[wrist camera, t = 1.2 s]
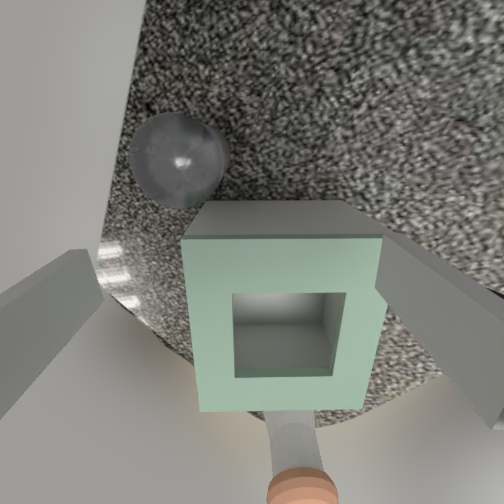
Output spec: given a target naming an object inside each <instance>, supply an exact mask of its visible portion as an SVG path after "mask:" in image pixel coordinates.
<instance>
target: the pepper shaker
mask: <svg viewBox="0 0 504 504" xmlns="http://www.w3.org/2000/svg"><path fill="white" fill-rule="evenodd" d="M263 412H264V417H265V421H266V425H267V430H268V434H269V439H270V449H271V459H272V472H273V479H272V481H271V482H270V484H269V488H268V493H267V504H338V492H337V489H336V487H335V485H334V483H333V481H332V480H331V478H330V477H329V476H328V475H327V474H326V473H325V472H324V469H323V465H322V460H321V456H320V452H319V447H318V443H317V439H316V432H315V420H314V410H281V411H263Z"/></svg>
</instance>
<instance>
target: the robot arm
mask: <svg viewBox="0 0 504 504" xmlns="http://www.w3.org/2000/svg"><path fill="white" fill-rule="evenodd" d="M375 289H376V290H377V291H378V293H379V294H380V295H381V296H382V297H383V299H384V300H385V301H386V302H387V304H388V305H389V306H390V307H391V308H392V310H393V311H394V312H395V313H396V315H397V316H398V317H399V318H400V319H401V321H402V322H403V323H404V324H405V326H406V327H407V328H408V329H409V330H410V332H411V333H412V334H413V335H414V337H415V338H416V339H417V340H418V341H419V343H420V344H421V345H422V346H423V347H424V349H425V350H426V351H427V352H428V354H429V355H430V356H431V357H432V358H433V360H434V361H435V362H436V363H437V365H438V366H439V367H440V368H441V369H442V371H443V372H444V373H445V374H446V376H447V377H448V378H449V379H450V380H451V382H452V383H453V384H454V385H455V386H456V388H457V389H458V390H459V391H460V393H461V394H462V395H463V396H464V397H465V398H466V400H467V401H468V402H469V404H470V405H471V406H472V407H473V408H474V410H475V411H476V412H477V413H478V415H479V416H480V417H481V418H482V419H483V421H484V422H485V423H486V424H487V425H488V427H489V428H490V429H491V430H504V295H503V294H501V293H498V292H496V291H493V290H491V289H489V288H486V287H484V286H482V285H481V284H479V283H477V282H476V281H474V280H473V279H471V278H470V277H468V276H467V275H465V274H463V273H462V272H460V271H459V270H457V269H456V268H454V267H453V266H451V265H450V264H448V263H446V262H445V261H443V260H442V259H440V258H439V257H437V256H436V255H434V254H433V253H431V252H429V251H428V250H426V249H425V248H423V247H422V246H420V245H419V244H417V243H416V242H414V241H412V240H411V239H409V238H408V237H406V236H405V235H403V234H402V233H394V234H383V240H382V246H381V252H380V258H379V264H378V270H377V276H376V282H375ZM103 302H104V298H103V295H102V292H101V289H100V286H99V283H98V280H97V277H96V274H95V271H94V268H93V266H92V262H91V260H90V257H89V254H88V251H87V249H76V250H69V251H67V252H66V253H64V254H62V255H61V256H59V257H58V258H56V259H55V260H53V261H52V262H50V263H49V264H47V265H45V266H44V267H42V268H41V269H39V270H37V271H36V272H34V273H33V274H31V275H30V276H28V277H26V278H25V279H23V280H22V281H20V282H19V283H17V284H16V285H14V286H13V287H11V288H9V289H8V290H6V291H5V292H3V293H2V294H0V419H1V418H2V417H3V416H4V415H5V414H6V413H7V411H8V410H9V409H10V408H11V407H12V405H14V403H15V402H16V401H17V400H18V399H19V398H20V397H21V395H22V394H23V393H24V392H25V391H26V390H27V388H28V387H29V386H30V385H31V384H32V383H33V382H34V381H35V379H36V378H37V377H38V376H39V375H40V374H41V373H42V371H43V370H44V369H45V368H46V367H47V365H49V363H50V362H51V361H52V360H53V359H54V358H55V356H56V355H57V354H58V353H59V352H60V351H61V350H62V349H63V347H64V346H65V345H66V344H67V343H68V342H69V341H70V339H71V338H72V337H73V336H74V335H75V334H76V332H77V331H78V330H79V329H80V328H81V327H82V326H83V324H84V323H85V322H86V321H87V320H88V319H89V318H90V316H91V315H92V314H93V313H94V312H95V311H96V310H97V309H98V307H99V306H100V305H101V304H102V303H103Z"/></svg>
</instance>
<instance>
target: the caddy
mask: <svg viewBox="0 0 504 504" xmlns="http://www.w3.org/2000/svg"><path fill="white" fill-rule="evenodd" d="M394 233H395V232H393V231H391V230H390V229H388V228H386V227H385V226H383V225H382V224H380V223H378V222H377V221H375V220H374V219H372V218H370V217H369V216H367V215H365V214H364V213H362V212H361V211H359V210H357V209H356V208H354V207H352V206H351V205H349V204H348V203H346V202H344V201H343V200H283V201H206V202H205V203H204V205H203V206H202V208H201V209H200V211H199V212H198V214H197V215H196V217H195V218H194V220H193V221H192V223H191V224H190V226H189V227H188V229H187V230H186V232H185V233H184V235H183V236H182V238H181V239H180V241H181V250H182V259H183V268H184V276H185V285H186V294H187V303H188V311H189V320H190V329H191V338H192V346H193V355H194V364H195V372H196V382H197V390H198V399H199V407H200V412H222V411H223V412H224V411H225V412H226V411H281V410H336V409H362V407H363V403H364V399H365V395H366V391H367V387H368V382H369V378H370V374H371V370H372V366H373V362H374V358H375V354H376V350H377V346H378V342H379V338H380V334H381V330H382V325H383V321H384V317H385V313H386V309H387V305H388V304H387V302H386V301H385V300H384V299H383V297H382V296H381V295H380V294H379V293H378V291H377V290H376V289H375V282H376V276H377V270H378V264H379V258H380V252H381V246H382V240H383V234H394Z"/></svg>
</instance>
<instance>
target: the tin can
mask: <svg viewBox="0 0 504 504" xmlns="http://www.w3.org/2000/svg"><path fill="white" fill-rule="evenodd" d="M230 160H231V152H230V147H229V144H228V142H227V140H226V139H225V137H224V136H223V135H222V133H220V132H219V131H218V130H217V129H215V128H213V127H211V126H209V125H206V124H204V123H201V122H199V121H197V120H195V119H193V118H191V117H189V116H186V115H183V114H179V113H171V112H170V113H161V114H157V115H155V116H152V117H150V118H149V119H147V120H146V121H144V122H143V123H142V124H141V125H140V126H139V127H138V129H137V130H136V132H135V133H134V135H133V138H132V140H131V144H130V149H129V162H130V167H131V171H132V174H133V176H134V178H135V180H136V182H137V184H138V185H139V187H140V188H141V189H142V191H143V192H144V193H145V194H146V195H147V196H148V197H150V198H151V199H152V200H154V201H155V202H157V203H159V204H161V205H163V206H166V207H169V208H174V209H187V208H192V207H195V206H197V205H199V204H201V203H203V202H204V201H206V200H207V199H208V198H209V197H210V196H211V195H212V193H213V192H214V191H215V189H216V187H217V186H218V183H219V182H220V180H221V179H222V177H223V176H224V174H225V173H226V171H227V169H228V167H229V164H230Z"/></svg>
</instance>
